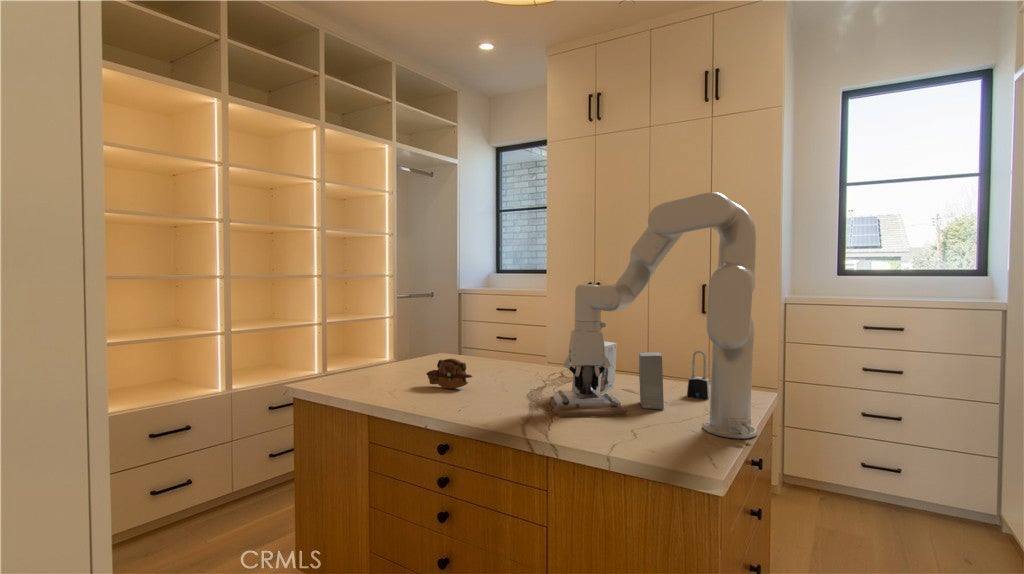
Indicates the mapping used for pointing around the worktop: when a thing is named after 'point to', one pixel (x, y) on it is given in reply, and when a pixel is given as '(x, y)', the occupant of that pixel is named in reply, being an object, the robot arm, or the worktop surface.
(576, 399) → the grey tray
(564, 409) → the walnut board
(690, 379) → the padlock
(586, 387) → the pin
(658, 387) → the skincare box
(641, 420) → the worktop surface
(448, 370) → the wooden carving
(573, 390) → the skincare box
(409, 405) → the worktop surface
